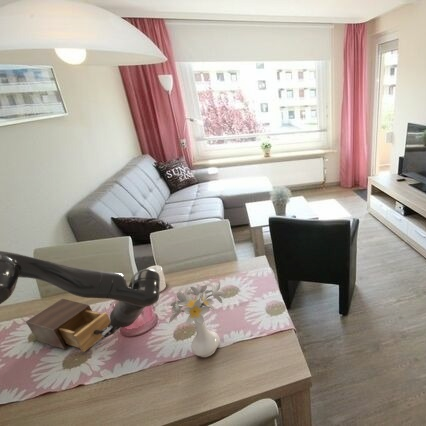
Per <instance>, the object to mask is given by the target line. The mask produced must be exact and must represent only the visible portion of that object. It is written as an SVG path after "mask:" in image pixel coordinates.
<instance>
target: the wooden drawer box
mask: <svg viewBox="0 0 426 426" xmlns="http://www.w3.org/2000/svg"><path fill="white" fill-rule="evenodd" d="M85 310H90V311H93V310H92V308H91V306H90V304H86V303H82V302H79V301H74V300H70V299H66V298H61V299H60V300H57V301H56V302H55V303H53V304H52V305H49V306H48V307H47V308H45V309H43V310H42V311H40V312H38V313H37V314H36V315H34V316H32V317H31V318H29V319H27V320H26V321H25V323H26V324H27V326H28V328H29V330H30V331H31V333H32V334H33V336H34V338H35V340H36V341H37V342H40V343H43V344H45V345H50V346H52V347H55V348H58V349H61V350H67V349H68V348H69V347H70V346H71V345H68V344H65V343H64V341H63V340H62V338H61V336H60V334H59V333H58V331H57V330H58V329H59V328H61V327H62V326H63V325H65V324H66V323H68V322H69V321H70V320H72V319H73V318H75V317H76V316H78V315H79V314H80V313H82V312H83V311H85Z"/></svg>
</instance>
